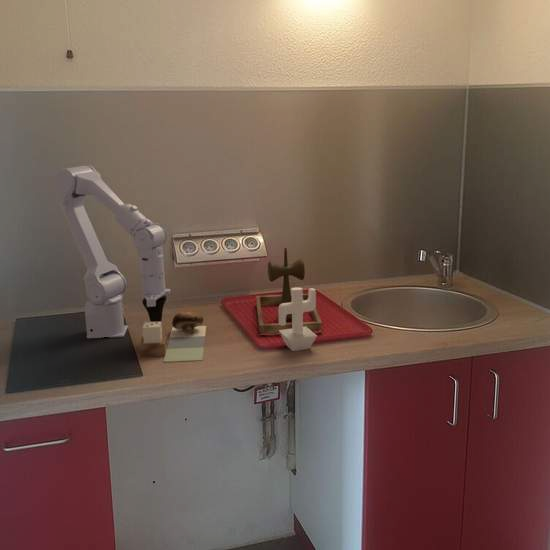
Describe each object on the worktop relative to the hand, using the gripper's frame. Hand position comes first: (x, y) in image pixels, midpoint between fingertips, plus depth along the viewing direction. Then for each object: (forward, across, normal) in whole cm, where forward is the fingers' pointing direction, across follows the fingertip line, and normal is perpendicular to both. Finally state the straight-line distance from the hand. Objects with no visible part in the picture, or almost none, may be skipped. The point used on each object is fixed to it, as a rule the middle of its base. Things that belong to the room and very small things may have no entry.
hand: (156, 325), depth 174 cm
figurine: (+4, -9, -35) cm, 36 cm away
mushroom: (+4, +5, -8) cm, 10 cm away
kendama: (+4, +13, -34) cm, 37 cm away
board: (+4, -3, -8) cm, 9 cm away
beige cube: (+1, -8, 0) cm, 8 cm away
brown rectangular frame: (+4, +13, -34) cm, 37 cm away
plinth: (+4, -8, 0) cm, 9 cm away
